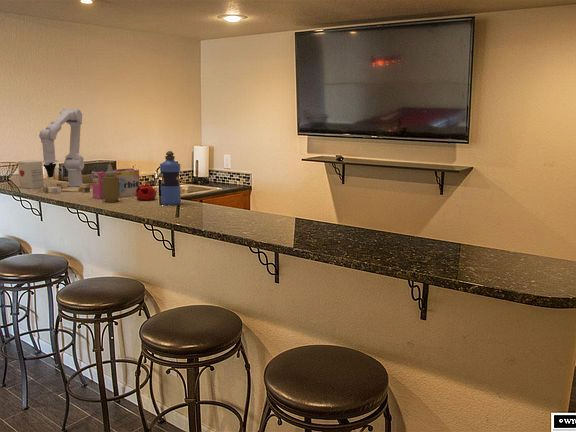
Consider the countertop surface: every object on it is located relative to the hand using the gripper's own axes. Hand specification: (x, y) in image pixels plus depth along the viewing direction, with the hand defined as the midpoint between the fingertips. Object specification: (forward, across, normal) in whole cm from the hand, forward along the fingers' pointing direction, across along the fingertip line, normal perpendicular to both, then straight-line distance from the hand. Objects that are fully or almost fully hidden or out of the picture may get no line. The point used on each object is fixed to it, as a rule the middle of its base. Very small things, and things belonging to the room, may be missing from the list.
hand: (50, 177), depth 265 cm
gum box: (+8, -23, -36) cm, 43 cm away
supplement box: (+8, +15, +13) cm, 21 cm away
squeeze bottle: (+8, -39, -35) cm, 53 cm away
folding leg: (+7, -6, -2) cm, 10 cm away
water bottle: (+8, -49, -63) cm, 80 cm away
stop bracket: (+7, -11, -4) cm, 14 cm away
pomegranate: (+8, -35, -51) cm, 62 cm away
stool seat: (+7, +1, -11) cm, 13 cm away
